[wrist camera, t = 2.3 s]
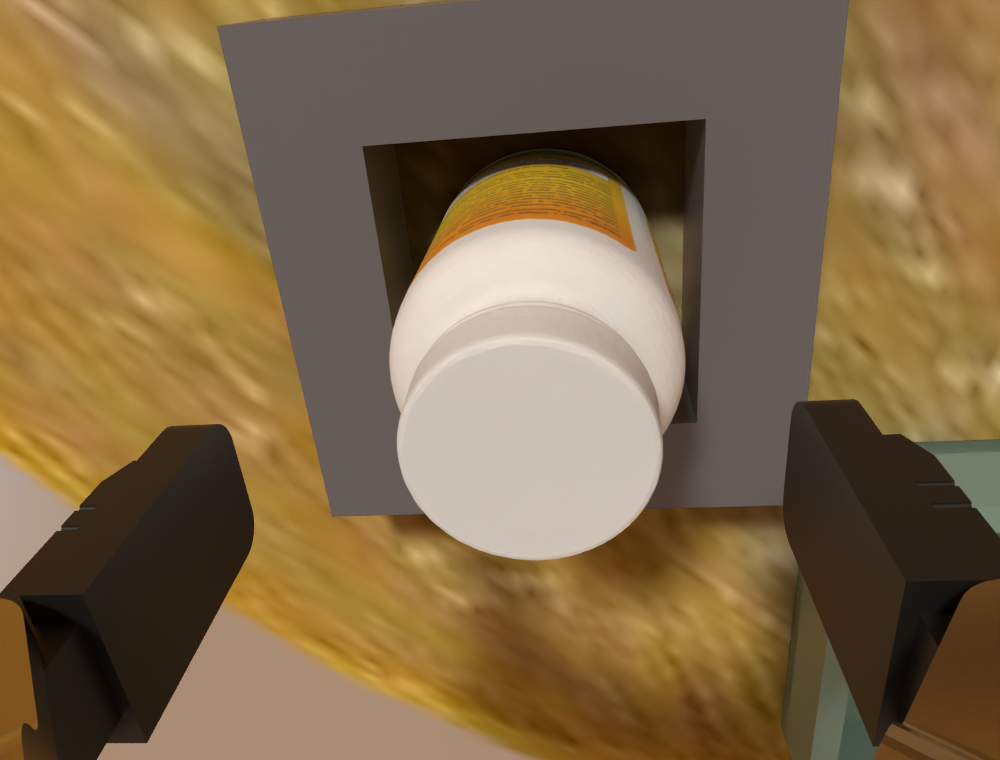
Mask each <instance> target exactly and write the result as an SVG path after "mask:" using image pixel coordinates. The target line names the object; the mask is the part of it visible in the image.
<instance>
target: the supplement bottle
mask: <svg viewBox="0 0 1000 760" xmlns="http://www.w3.org/2000/svg"><path fill="white" fill-rule="evenodd" d="M389 365H390V376H391V383H392V387H393V392H394V396H395V399H396V402H397V405H398V408H399V410H400V413H401V416H400V419H399V424H398V431H397V453H398V461H399V465H400V469H401V472H402V476H403V479H404V482H405V484H406V486H407V488H408V489H409V491H410V493H411V495H412V497H413V499H414V500H415V502H416V503H417V505H418V506H419V507H420V508H421V510H422V511H423V512H424V513H425V514H426V515H427V516H428V517H429V519H430V520H431V521H432V522H434V523H435V524H436V525H437V526H438V527H440V528H441V529H442V530H443V531H445V532H446V533H447V534H449V535H450V536H452V537H454V538H455V539H457V540H458V541H460V542H462V543H464V544H467V545H469V546H471V547H473V548H475V549H478V550H480V551H483V552H486V553H489V554H493V555H497V556H501V557H506V558H511V559H520V560H549V559H557V558H563V557H569V556H573V555H577V554H580V553H582V552H585V551H589V550H591V549H593V548H595V547H597V546H600V545H602V544H604V543H605V542H607V541H609V540H611V539H612V538H614V537H615V536H617V535H618V534H619V533H621V532H622V531H623V530H624V529H626V528H627V527H628V526H629V525H630V524H631V523H632V522H633V521H634V520H635V519H636V518H637V517H638V515H639V514H640V513H641V512H642V511H643V509H644V508H645V506H646V505H647V504H648V502H649V500H650V498H651V496H652V494H653V492H654V490H655V488H656V486H657V483H658V480H659V477H660V473H661V468H662V462H663V437H662V435H663V434H664V432H665V431H666V429H667V428H668V426H669V424H670V423H671V421H672V419H673V416H674V414H675V412H676V410H677V407H678V404H679V401H680V398H681V394H682V390H683V385H684V378H685V346H684V340H683V335H682V329H681V324H680V320H679V316H678V313H677V310H676V307H675V304H674V301H673V297H672V295H671V292H670V289H669V286H668V282H667V279H666V276H665V273H664V269H663V266H662V263H661V260H660V256H659V253H658V250H657V246H656V244H655V240H654V237H653V233H652V231H651V228H650V225H649V222H648V219H647V217H646V215H645V213H644V211H643V209H642V206H641V204H640V203H639V201H638V199H637V198H636V196H635V194H634V193H633V192H632V190H631V189H630V188H629V187H628V186H627V184H626V183H625V182H624V181H623V180H622V179H621V178H620V177H619V176H618V175H617V174H615V173H614V172H613V171H612V170H610V169H609V168H607V167H606V166H604V165H603V164H601V163H599V162H597V161H596V160H594V159H591V158H589V157H587V156H584V155H581V154H578V153H575V152H571V151H566V150H561V149H551V148H541V149H530V150H524V151H520V152H517V153H513V154H510V155H508V156H505V157H503V158H500V159H498V160H496V161H494V162H493V163H491V164H489V165H488V166H486V167H485V168H483V169H482V170H480V171H479V172H478V173H477V174H475V175H474V176H473V177H472V178H471V179H470V180H469V181H468V182H467V183H466V184H465V185H464V187H463V188H462V189H461V190H460V191H459V193H458V194H457V196H456V197H455V199H454V200H453V202H452V203H451V205H450V207H449V208H448V210H447V212H446V214H445V216H444V218H443V220H442V223H441V225H440V227H439V229H438V231H437V233H436V235H435V237H434V239H433V241H432V243H431V245H430V247H429V249H428V251H427V253H426V255H425V257H424V259H423V261H422V263H421V265H420V267H419V269H418V271H417V273H416V275H415V277H414V279H413V281H412V283H411V285H410V286H409V288H408V290H407V293H406V295H405V297H404V299H403V302H402V304H401V306H400V309H399V312H398V315H397V317H396V320H395V324H394V327H393V331H392V337H391V344H390V353H389Z"/></svg>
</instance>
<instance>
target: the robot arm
mask: <svg viewBox="0 0 1000 760" xmlns="http://www.w3.org/2000/svg"><path fill="white" fill-rule="evenodd" d="M971 503H972V502H971V501H970V499H969V498H968V497H967V496H966V494H965V493H964V492H963V491H962V489H961V488H960V487H959V486H955V480H954V479H953V478H952V477H951V475H950V474H949V473H948V472H947V470H946V469H945V468H944V467H943V465H942V464H941V463H940V462H939V460H938V459H937V458H936V457H935V455H933V454H932V453H930V452H928V451H927V450H925V449H924V448H922V447H920V446H919V445H917V444H916V443H914V442H912V441H911V440H909V439H908V438H906V437H904V436H903V435H901V434H892V435H882V433H881V432H880V431H879V429H878V428H877V426H876V425H875V424H874V422H873V421H872V419H871V418H870V417H869V415H868V414H867V412H866V411H865V410H864V408H863V407H862V405H861V404H860V403H859V402H858V401H857V400H854V399H850V400H825V401H801V402H797V403H796V404H795V405H794V407H793V410H792V415H791V422H790V432H789V442H788V452H787V462H786V472H785V483H784V493H783V515H784V524H785V529H786V534H787V538H788V541H789V544H790V546H791V549H792V551H793V553H794V556H795V558H796V561H797V563H798V566H799V568H800V570H801V573H802V575H803V578H804V580H805V583H806V585H807V587H808V590H809V592H810V595H811V597H812V600H813V602H814V604H815V607H816V609H817V612H818V614H819V617H820V619H821V621H822V624H823V626H824V629H825V631H826V634H827V636H828V638H829V641H830V643H831V646H832V648H833V651H834V653H835V655H836V658H837V660H838V663H839V665H840V668H841V670H842V672H843V675H844V677H845V680H846V682H847V685H848V687H849V689H850V692H851V694H852V697H853V699H854V702H855V704H856V706H857V709H858V711H859V714H860V716H861V719H862V721H863V723H864V726H865V728H866V731H867V733H868V736H869V738H870V740H871V743H872V745H873V747H878V749H877V752H876V754H875V756H874V758H873V760H1000V537H999V536H998V535H997V533H996V532H995V531H994V530H993V528H992V527H991V526H990V525H989V523H988V522H987V521H986V520H985V518H984V517H983V516H982V515H981V513H980V512H979V511H978V509H977V508H972V504H971ZM61 527H62V530H61V531H56V532H55V533H54V535H53V536H52V537H51V538H50V539H49V540H48V541H47V542H46V543H45V544H44V546H43V547H42V548H41V549H40V550H39V551H38V552H37V553H36V554H35V555H34V557H33V558H32V559H31V560H30V561H29V562H28V563H27V564H26V565H25V566H24V568H23V569H22V570H21V571H20V572H19V573H18V574H17V575H16V576H15V577H14V579H13V580H12V581H11V582H10V583H9V584H8V585H7V586H6V587H5V588H4V590H3V591H2V592H1V593H0V760H97V758H98V756H99V755H100V753H101V751H102V750H103V748H104V746H105V745H106V743H147V742H148V740H149V738H150V736H151V734H152V733H153V731H154V729H155V727H156V725H157V723H158V721H159V720H160V718H161V716H162V714H163V712H164V710H165V708H166V707H167V705H168V703H169V701H170V699H171V697H172V695H173V693H174V692H175V690H176V688H177V686H178V684H179V682H180V681H181V679H182V677H183V675H184V673H185V671H186V669H187V668H188V666H189V664H190V662H191V660H192V658H193V656H194V655H195V653H196V651H197V649H198V647H199V645H200V643H201V642H202V640H203V638H204V636H205V634H206V632H207V630H208V629H209V627H210V625H211V623H212V621H213V619H214V617H215V616H216V614H217V612H218V610H219V608H220V606H221V604H222V603H223V601H224V599H225V597H226V595H227V593H228V591H229V590H230V588H231V586H232V584H233V582H234V580H235V578H236V577H237V575H238V573H239V571H240V569H241V567H242V565H243V564H244V562H245V560H246V558H247V556H248V554H249V552H250V549H251V546H252V542H253V535H254V517H253V511H252V507H251V504H250V500H249V497H248V493H247V490H246V486H245V482H244V479H243V475H242V472H241V468H240V465H239V461H238V458H237V454H236V451H235V447H234V444H233V440H232V437H231V435H230V433H229V431H228V430H227V428H226V427H225V426H223V425H221V424H210V425H186V426H170V427H168V428H166V429H165V430H164V431H163V432H162V433H161V434H160V435H159V436H158V437H157V438H156V440H155V441H154V442H153V443H152V444H151V445H150V446H149V448H148V449H147V450H146V451H145V452H144V453H143V454H142V456H141V457H140V458H139V459H138V460H137V461H133V462H131V463H130V464H128V465H127V466H125V467H124V468H122V469H120V470H119V471H117V472H116V473H114V474H113V475H111V476H110V477H108V478H107V479H105V480H104V481H102V482H101V483H100V484H99V485H98V486H97V487H96V488H95V489H94V491H93V492H92V493H91V494H90V495H89V496H88V497H87V498H86V499H85V500H84V502H83V503H82V504H81V505H80V510H79V511H74V513H73V514H72V515H71V516H70V517H69V518H68V519H67V520H66V521H65V523H64V524H63V525H62V526H61Z"/></svg>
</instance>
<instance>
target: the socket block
mask: <svg viewBox="0 0 1000 760" xmlns="http://www.w3.org/2000/svg"><path fill="white" fill-rule="evenodd" d="M848 5H849V0H450V1H440V2H430V3H420V4H410V5H400V6H390V7H380V8H370V9H360V10H350V11H340V12H330V13H320V14H310V15H300V16H290V17H280V18H270V19H263V20H256V21H249V22H242V23H235V24H228V25H221V26H217V29H218V33H219V37H220V42H221V46H222V50H223V54H224V59H225V63H226V67H227V71H228V76H229V80H230V84H231V88H232V92H233V97H234V101H235V105H236V109H237V114H238V118H239V122H240V126H241V131H242V135H243V139H244V143H245V148H246V152H247V156H248V160H249V165H250V169H251V173H252V177H253V182H254V186H255V190H256V194H257V199H258V203H259V207H260V211H261V216H262V220H263V224H264V228H265V233H266V237H267V241H268V245H269V250H270V254H271V258H272V262H273V267H274V271H275V275H276V279H277V284H278V288H279V292H280V296H281V301H282V305H283V309H284V313H285V318H286V322H287V326H288V330H289V335H290V339H291V343H292V347H293V352H294V356H295V360H296V364H297V369H298V373H299V377H300V381H301V386H302V390H303V394H304V398H305V403H306V407H307V411H308V415H309V420H310V424H311V428H312V432H313V437H314V441H315V445H316V449H317V454H318V458H319V462H320V466H321V471H322V475H323V479H324V483H325V488H326V492H327V496H328V500H329V505H330V509H331V513H332V516H373V515H413V514H425V513H424V512H423V511H422V510H421V508H420V507H419V506H418V505H417V503H416V502H415V500H414V499H413V497H412V495H411V493H410V491H409V489H408V488H407V486H406V484H405V482H404V479H403V476H402V472H401V469H400V465H399V461H398V453H397V431H398V424H399V419H400V416H401V413H400V410H399V408H398V405H397V402H396V399H395V396H394V392H393V387H392V383H391V376H390V365H389V353H390V344H391V337H392V331H393V327H394V324H395V320H396V317H397V315H398V312H399V309H400V306H401V304H402V302H403V299H404V297H405V295H406V293H407V290H408V288H409V286H410V285H411V283H412V281H413V279H414V270H413V263H412V256H411V250H410V243H409V236H408V230H407V223H406V216H405V209H404V203H403V196H402V189H401V183H400V176H399V169H398V162H397V156H396V149H395V144H396V143H409V142H421V141H434V140H446V139H459V138H472V137H484V136H497V135H509V134H522V133H534V132H547V131H559V130H572V129H584V128H597V127H610V126H622V125H635V124H647V123H660V122H672V121H685V120H686V125H685V179H684V233H683V287H682V335H683V340H684V346H685V378H684V385H683V390H682V394H681V398H680V401H679V404H678V407H677V410H676V412H675V414H674V416H673V419H672V421H671V423H670V424H669V426H668V428H667V429H666V431H665V432H664V434H663V435H662V437H663V462H662V468H661V473H660V477H659V480H658V483H657V486H656V488H655V490H654V492H653V494H652V496H651V498H650V500H649V502H648V504H647V505H646V506H645V508H644V509H658V508H699V507H740V506H780V505H783V493H784V483H785V472H786V462H787V452H788V442H789V432H790V422H791V415H792V410H793V407H794V405H795V404H796V403H797V402H801V401H807V399H808V389H809V380H810V370H811V360H812V351H813V341H814V332H815V322H816V312H817V303H818V293H819V284H820V274H821V264H822V255H823V245H824V236H825V226H826V216H827V207H828V197H829V188H830V178H831V169H832V159H833V149H834V140H835V130H836V121H837V111H838V101H839V92H840V82H841V73H842V63H843V53H844V44H845V34H846V25H847V15H848Z"/></svg>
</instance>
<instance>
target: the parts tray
mask: <svg viewBox="0 0 1000 760" xmlns="http://www.w3.org/2000/svg"><path fill="white" fill-rule="evenodd" d="M914 443H916V444H917V445H919V446H920V447H922V448H924V449H925V450H927V451H928V452H930V453H932V454H933V455H935V457H936V458H937V459H938V460H939V462H940V463H941V464H942V465H943V467H944V468H945V469H946V470H947V472H948V473H949V474H950V475H951V477H952V478H953V479H954V480H955V486H959V487H960V488H961V489H962V491H963V492H964V493H965V494H966V496H967V497H968V498H969V499H970V501H971V502H972V503H971V504H972V508H977V509H978V511H979V512H980V513H981V515H982V516H983V517H984V518H985V520H986V521H987V522H988V523H989V525H990V526H991V527H992V528H993V530H994V531H995V532H996V533H997V535H998V536H999V537H1000V440H973V441H943V442H914ZM781 725H782V729H783V732H784V736H785V739H786V743H787V746H788V750H789V753H790V757H791V760H873V758H874V756H875V754H876V752H877V749H878V747H873V745H872V743H871V740H870V738H869V736H868V733H867V731H866V728H865V726H864V723H863V721H862V719H861V716H860V714H859V711H858V709H857V706H856V704H855V702H854V699H853V697H852V694H851V692H850V689H849V687H848V685H847V682H846V680H845V677H844V675H843V672H842V670H841V668H840V665H839V663H838V660H837V658H836V655H835V653H834V651H833V648H832V646H831V643H830V641H829V638H828V636H827V634H826V631H825V629H824V626H823V624H822V621H821V619H820V617H819V614H818V612H817V609H816V607H815V604H814V602H813V600H812V597H811V595H810V592H809V590H808V587H807V585H806V583H805V580H804V578H803V575H802V573H801V570H800V568H799V569H798V578H797V587H796V596H795V605H794V614H793V623H792V632H791V641H790V650H789V659H788V668H787V677H786V686H785V695H784V704H783V713H782V722H781Z"/></svg>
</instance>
